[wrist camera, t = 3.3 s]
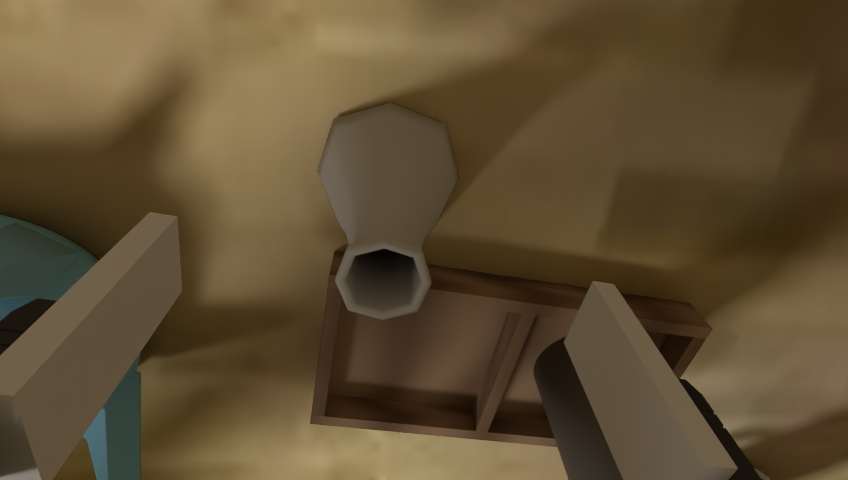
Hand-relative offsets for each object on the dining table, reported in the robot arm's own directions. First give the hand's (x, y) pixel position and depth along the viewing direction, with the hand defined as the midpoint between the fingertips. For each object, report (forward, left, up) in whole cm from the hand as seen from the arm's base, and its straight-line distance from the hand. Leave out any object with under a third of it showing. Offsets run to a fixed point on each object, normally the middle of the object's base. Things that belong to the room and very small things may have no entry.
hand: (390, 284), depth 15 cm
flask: (0, 0, -11) cm, 11 cm away
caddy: (+9, -11, -10) cm, 18 cm away
